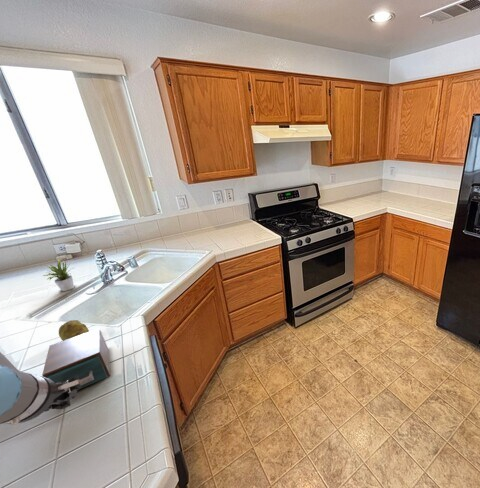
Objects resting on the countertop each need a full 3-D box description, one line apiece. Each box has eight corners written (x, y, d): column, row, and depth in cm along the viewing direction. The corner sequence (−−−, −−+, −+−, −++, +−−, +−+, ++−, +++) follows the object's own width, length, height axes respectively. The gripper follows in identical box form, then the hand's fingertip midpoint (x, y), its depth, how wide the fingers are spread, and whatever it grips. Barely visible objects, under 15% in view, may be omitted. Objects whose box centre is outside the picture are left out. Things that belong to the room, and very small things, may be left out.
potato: (64, 357, 92) (55, 338, 89) (63, 340, 101) (55, 323, 98) (94, 344, 98) (87, 327, 95) (91, 329, 106) (83, 313, 103)
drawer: (107, 385, 79) (98, 365, 76) (55, 409, 72) (43, 388, 69) (105, 351, 92) (98, 334, 90) (62, 369, 86) (52, 350, 83)
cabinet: (110, 375, 83) (99, 352, 80) (56, 399, 76) (42, 374, 73) (108, 349, 95) (99, 327, 91) (61, 368, 87) (49, 345, 84)
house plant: (49, 288, 142) (36, 261, 137) (82, 279, 151) (71, 253, 145) (47, 298, 132) (33, 269, 127) (83, 287, 141) (71, 260, 135)
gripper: (-37, 446, 41) (30, 435, 59) (73, 397, 49) (102, 400, 67) (-42, 399, 43) (24, 402, 61) (64, 358, 51) (95, 372, 69)
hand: (65, 401), depth 64 cm, fingers closed
